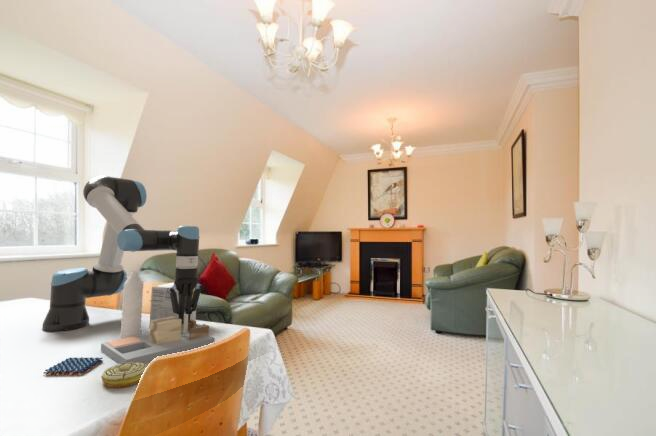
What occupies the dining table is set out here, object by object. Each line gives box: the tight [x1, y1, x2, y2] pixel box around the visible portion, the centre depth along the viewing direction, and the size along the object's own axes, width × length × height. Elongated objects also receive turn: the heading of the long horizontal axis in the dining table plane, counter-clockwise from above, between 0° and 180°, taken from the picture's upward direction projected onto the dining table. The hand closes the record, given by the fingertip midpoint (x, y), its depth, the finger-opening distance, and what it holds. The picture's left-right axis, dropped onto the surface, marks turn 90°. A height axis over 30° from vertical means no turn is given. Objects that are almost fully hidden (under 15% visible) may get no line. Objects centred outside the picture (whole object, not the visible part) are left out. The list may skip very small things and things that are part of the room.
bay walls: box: [188, 320, 210, 340], centre depth 122 cm, size 12×7×4 cm, turn 51°
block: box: [149, 316, 182, 345], centre depth 115 cm, size 6×8×7 cm
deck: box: [100, 330, 216, 365], centre depth 114 cm, size 22×29×3 cm
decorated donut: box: [101, 362, 148, 389], centre depth 89 cm, size 10×11×4 cm
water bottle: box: [120, 270, 152, 339], centre depth 125 cm, size 9×6×25 cm
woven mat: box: [43, 356, 104, 377], centre depth 95 cm, size 10×11×2 cm
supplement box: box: [148, 282, 197, 330], centre depth 140 cm, size 13×13×18 cm
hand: (183, 332), depth 120 cm, fingers closed
